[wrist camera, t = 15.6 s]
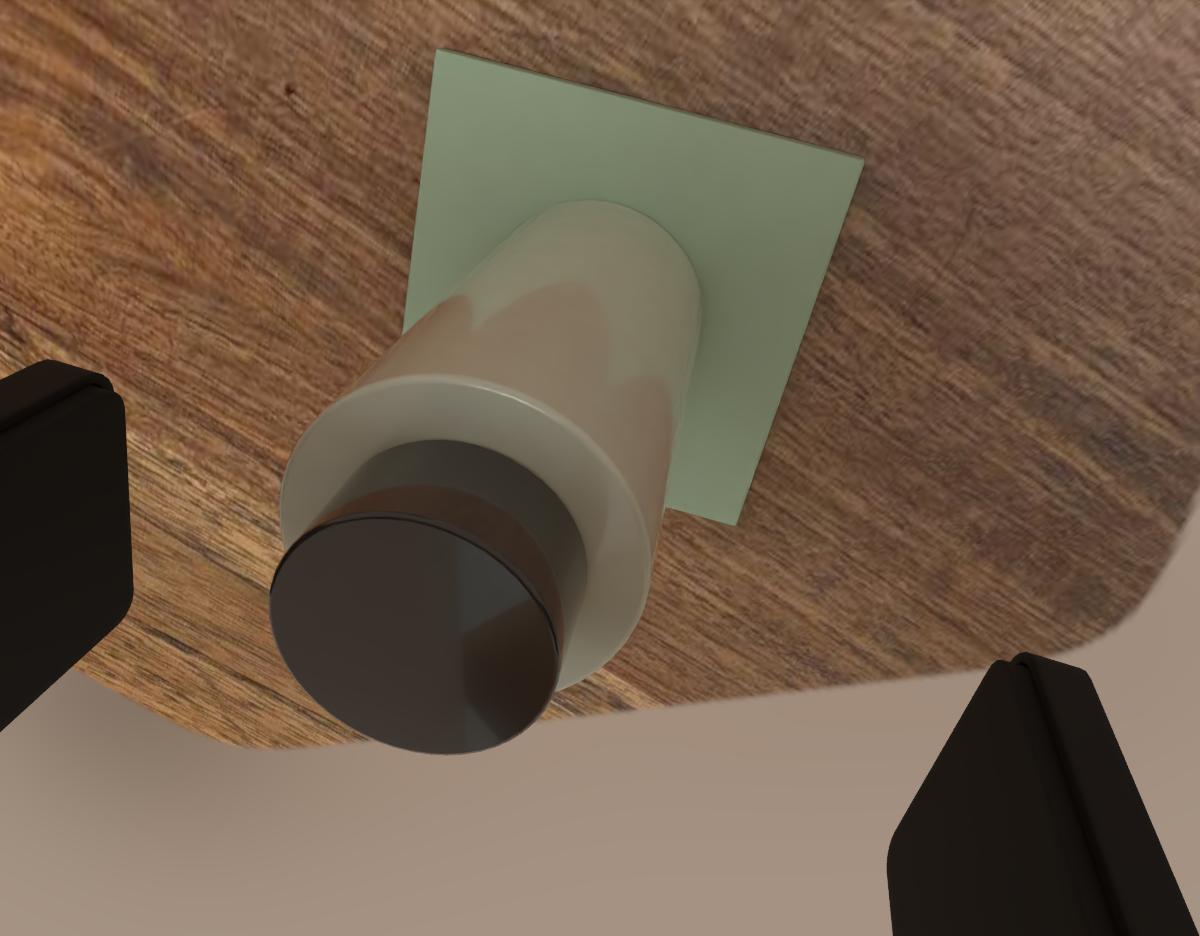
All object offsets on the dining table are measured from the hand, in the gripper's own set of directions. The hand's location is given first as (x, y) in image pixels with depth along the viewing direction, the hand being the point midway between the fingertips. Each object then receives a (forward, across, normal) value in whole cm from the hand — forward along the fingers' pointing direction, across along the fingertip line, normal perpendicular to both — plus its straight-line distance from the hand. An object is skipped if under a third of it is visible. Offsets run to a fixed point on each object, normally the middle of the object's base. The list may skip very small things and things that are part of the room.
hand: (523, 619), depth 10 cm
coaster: (+10, +1, 0) cm, 10 cm away
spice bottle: (+10, +1, 0) cm, 10 cm away
